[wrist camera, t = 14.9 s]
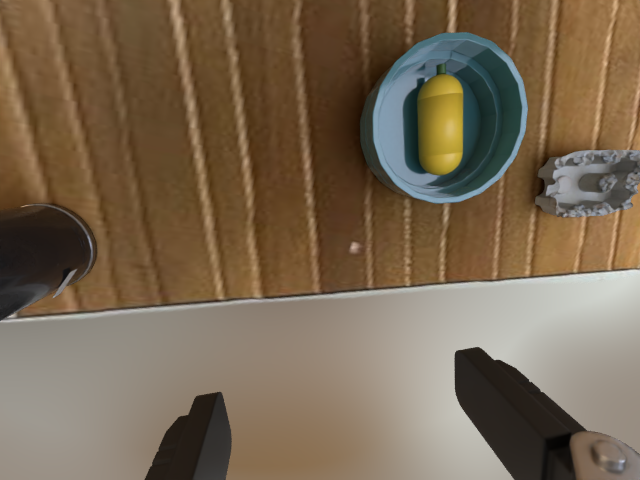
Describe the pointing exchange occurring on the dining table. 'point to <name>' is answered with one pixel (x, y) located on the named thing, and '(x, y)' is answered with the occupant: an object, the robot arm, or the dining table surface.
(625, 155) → the egg carton
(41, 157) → the dining table surface
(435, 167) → the squash
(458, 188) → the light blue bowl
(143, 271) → the dining table surface
